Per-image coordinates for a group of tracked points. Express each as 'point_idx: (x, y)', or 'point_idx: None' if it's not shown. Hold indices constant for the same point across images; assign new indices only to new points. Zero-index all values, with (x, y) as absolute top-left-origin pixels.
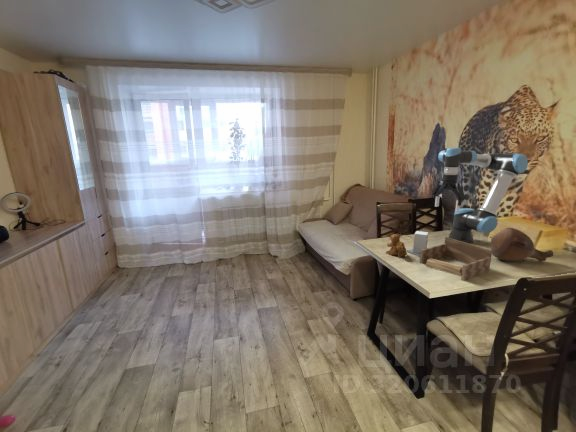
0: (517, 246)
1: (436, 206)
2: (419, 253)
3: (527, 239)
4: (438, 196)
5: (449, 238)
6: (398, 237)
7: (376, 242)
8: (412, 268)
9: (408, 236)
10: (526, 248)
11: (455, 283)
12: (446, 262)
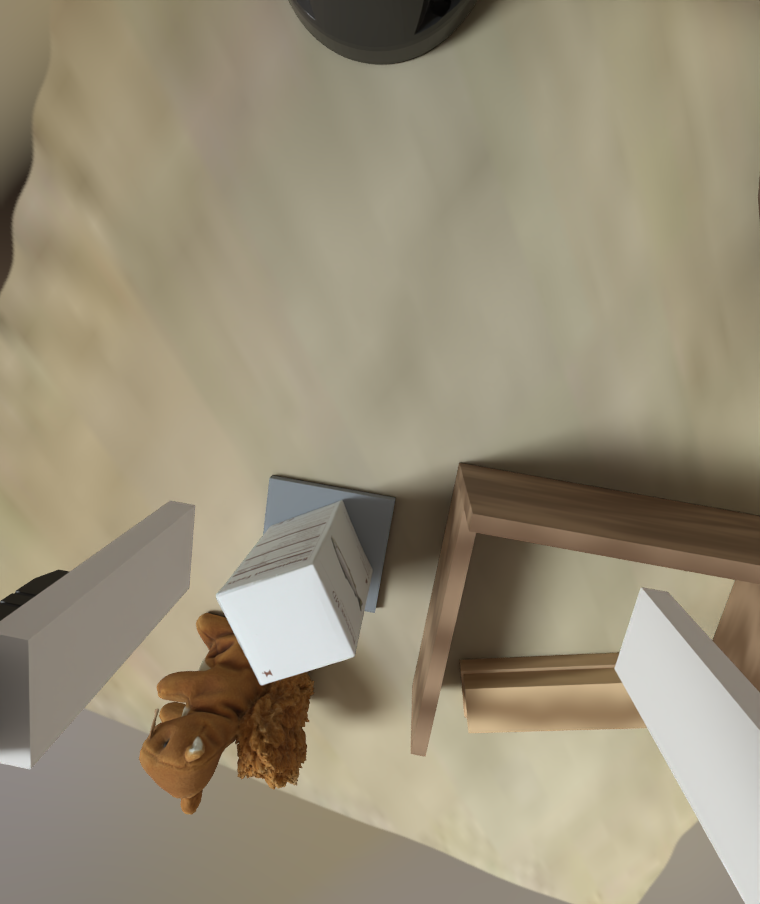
0: None
1: (188, 574)
2: None
3: None
4: (16, 682)
5: (511, 535)
6: (208, 770)
7: (21, 576)
8: (429, 775)
9: (41, 256)
10: None
11: (667, 790)
12: (569, 686)
